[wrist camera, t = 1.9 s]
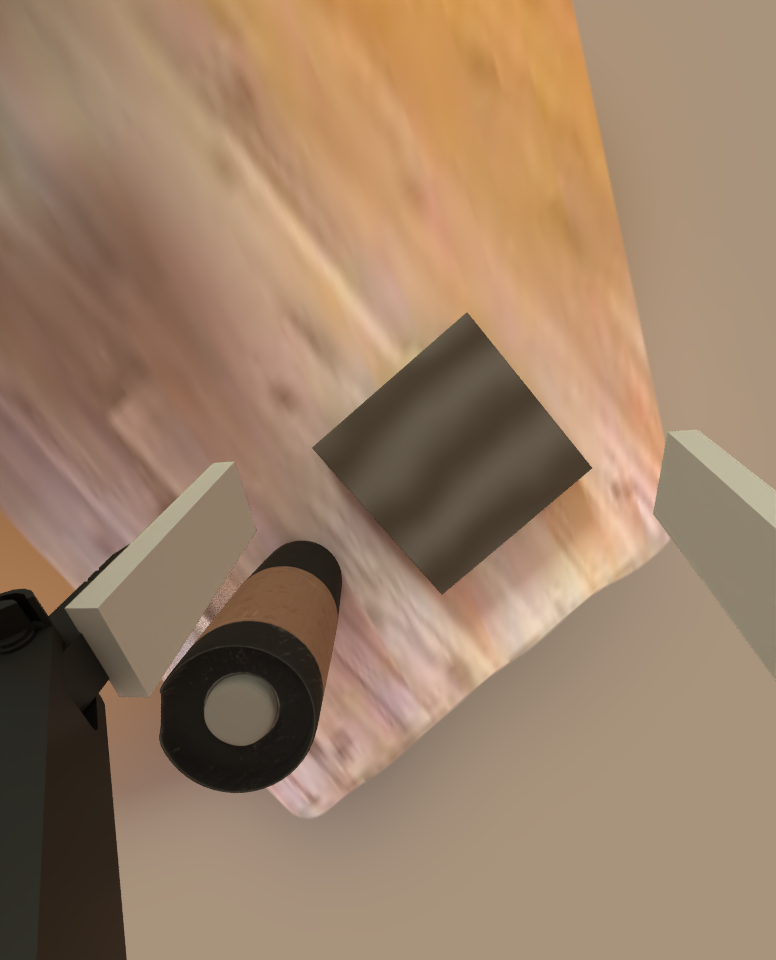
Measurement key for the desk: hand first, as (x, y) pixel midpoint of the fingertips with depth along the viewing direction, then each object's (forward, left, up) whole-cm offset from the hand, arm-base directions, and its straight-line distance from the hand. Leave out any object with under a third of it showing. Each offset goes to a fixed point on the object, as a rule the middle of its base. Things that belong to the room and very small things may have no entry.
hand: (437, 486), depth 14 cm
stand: (+3, +3, -26) cm, 26 cm away
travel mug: (+3, -14, -26) cm, 29 cm away
